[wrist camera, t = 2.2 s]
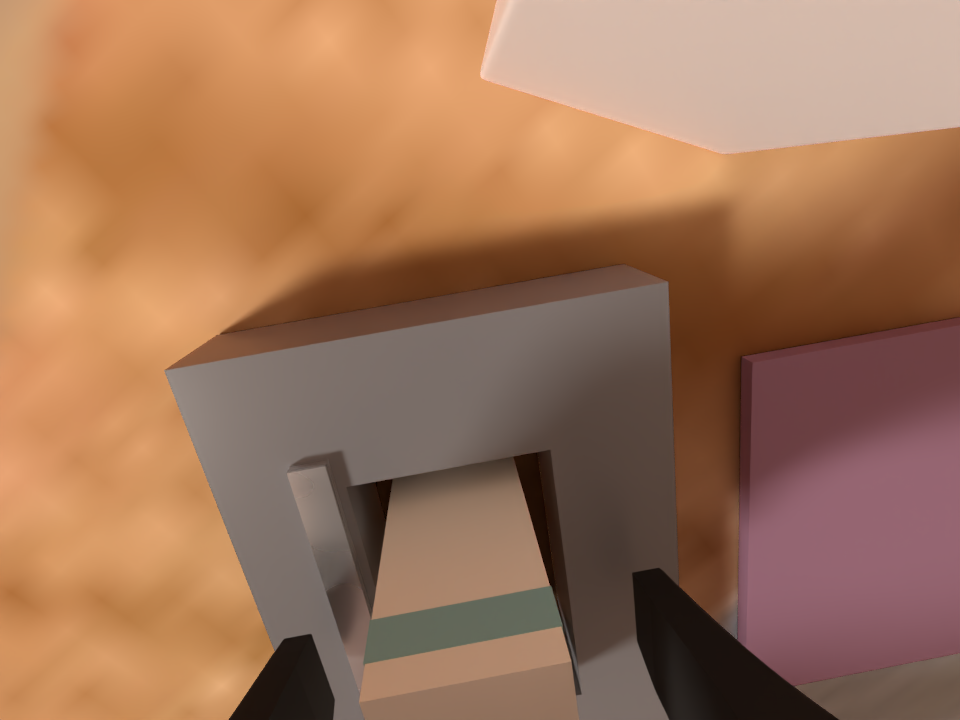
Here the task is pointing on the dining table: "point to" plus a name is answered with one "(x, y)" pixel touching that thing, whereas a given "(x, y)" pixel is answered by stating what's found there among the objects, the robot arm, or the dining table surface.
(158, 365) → the dining table surface
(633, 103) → the milk
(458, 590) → the striped tan bar
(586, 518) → the grey rectangular frame
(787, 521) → the mat
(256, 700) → the robot arm
